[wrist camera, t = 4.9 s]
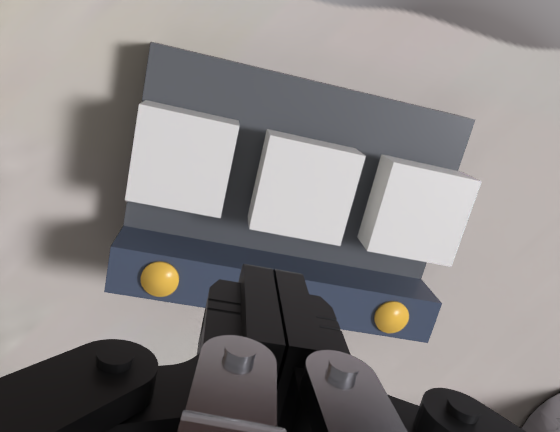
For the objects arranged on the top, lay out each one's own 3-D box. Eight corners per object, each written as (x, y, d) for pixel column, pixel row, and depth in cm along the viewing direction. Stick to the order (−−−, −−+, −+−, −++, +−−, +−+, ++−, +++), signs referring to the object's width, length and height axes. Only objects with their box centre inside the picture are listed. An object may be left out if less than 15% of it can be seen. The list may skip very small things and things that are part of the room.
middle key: (355, 148, 25) (365, 156, 23) (332, 232, 27) (340, 245, 25) (266, 128, 24) (270, 135, 23) (247, 216, 26) (249, 229, 24)
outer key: (238, 120, 25) (239, 126, 23) (220, 206, 26) (220, 218, 24) (146, 100, 24) (139, 104, 22) (132, 189, 26) (124, 200, 24)
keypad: (458, 115, 28) (507, 128, 23) (397, 302, 32) (428, 348, 27) (156, 42, 26) (139, 40, 21) (124, 256, 29) (102, 297, 24)
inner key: (463, 172, 26) (481, 181, 24) (436, 252, 27) (451, 266, 26) (381, 154, 25) (393, 162, 24) (357, 237, 27) (367, 251, 25)
